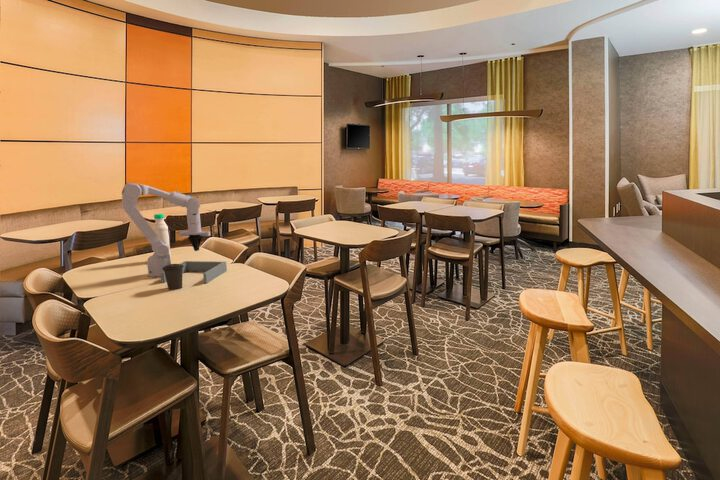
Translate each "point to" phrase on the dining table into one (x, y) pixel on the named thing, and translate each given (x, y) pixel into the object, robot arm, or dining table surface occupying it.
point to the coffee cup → (173, 276)
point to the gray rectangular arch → (203, 269)
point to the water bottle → (161, 229)
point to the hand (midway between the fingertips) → (196, 250)
